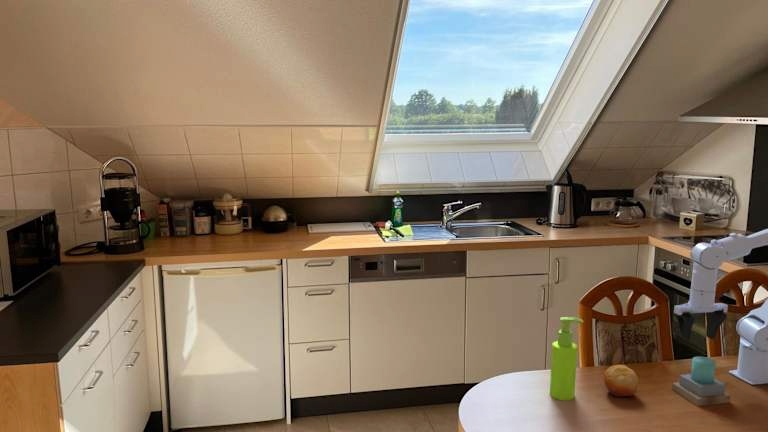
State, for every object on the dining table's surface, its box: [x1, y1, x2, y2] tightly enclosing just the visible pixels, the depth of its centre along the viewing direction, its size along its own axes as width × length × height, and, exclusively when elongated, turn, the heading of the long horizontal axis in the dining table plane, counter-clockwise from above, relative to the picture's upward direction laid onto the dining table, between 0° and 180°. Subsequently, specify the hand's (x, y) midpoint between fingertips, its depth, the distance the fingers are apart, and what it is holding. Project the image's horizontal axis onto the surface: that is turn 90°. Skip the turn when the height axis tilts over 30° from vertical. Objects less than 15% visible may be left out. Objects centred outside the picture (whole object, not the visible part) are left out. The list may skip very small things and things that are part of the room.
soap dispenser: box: [549, 316, 584, 401], centre depth 145 cm, size 6×7×20 cm
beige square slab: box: [671, 381, 731, 407], centre depth 147 cm, size 9×9×2 cm
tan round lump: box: [603, 364, 640, 398], centre depth 148 cm, size 8×8×8 cm
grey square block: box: [678, 373, 726, 397], centre depth 146 cm, size 7×7×2 cm
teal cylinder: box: [690, 355, 716, 384], centre depth 145 cm, size 5×5×5 cm
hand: (697, 338), depth 156 cm, fingers open, 7 cm apart
